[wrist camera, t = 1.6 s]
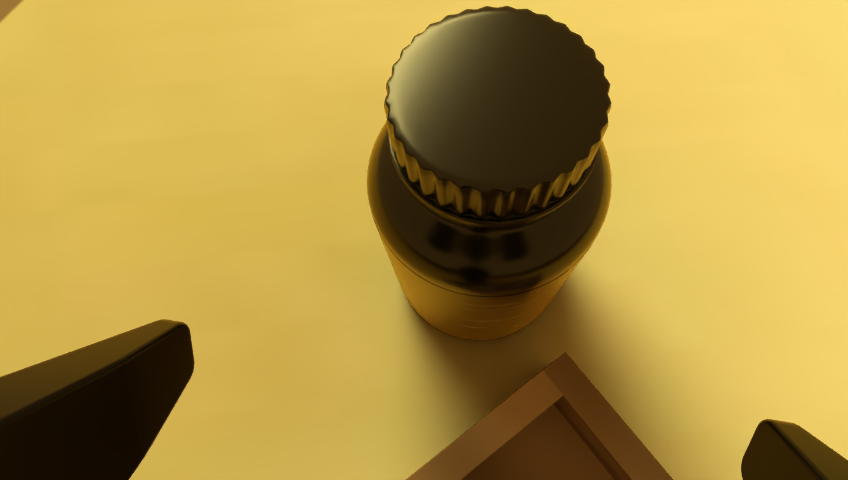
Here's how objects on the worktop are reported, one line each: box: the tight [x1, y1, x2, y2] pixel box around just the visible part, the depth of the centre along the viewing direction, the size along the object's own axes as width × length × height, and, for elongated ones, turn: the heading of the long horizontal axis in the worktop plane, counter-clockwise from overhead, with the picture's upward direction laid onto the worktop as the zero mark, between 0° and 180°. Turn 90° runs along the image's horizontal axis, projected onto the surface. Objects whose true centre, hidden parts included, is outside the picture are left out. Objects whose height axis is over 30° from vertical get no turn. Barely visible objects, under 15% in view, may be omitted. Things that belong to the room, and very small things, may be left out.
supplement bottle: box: [367, 6, 611, 340], centre depth 16 cm, size 7×7×12 cm
